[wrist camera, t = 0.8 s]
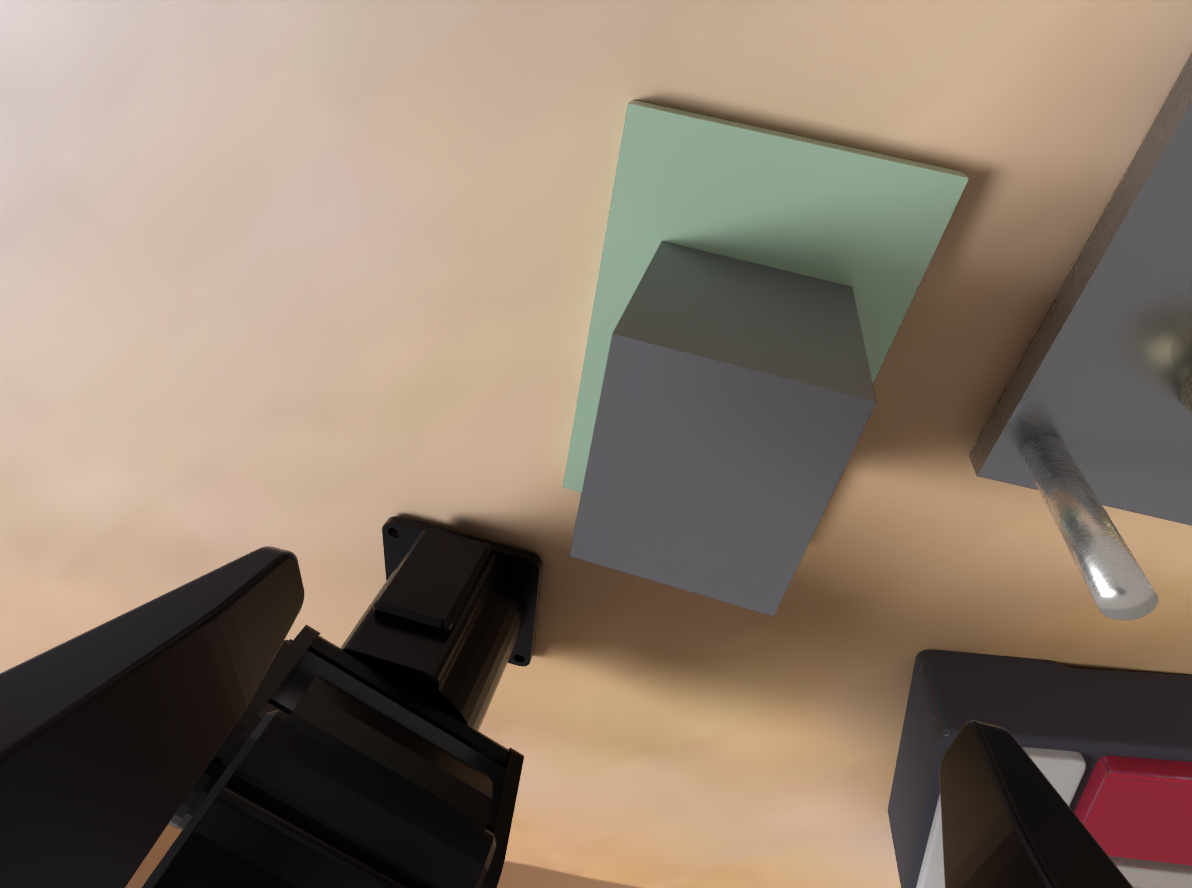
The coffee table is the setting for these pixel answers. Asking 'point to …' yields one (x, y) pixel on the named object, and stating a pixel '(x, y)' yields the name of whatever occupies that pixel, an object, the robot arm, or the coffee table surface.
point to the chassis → (1113, 374)
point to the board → (762, 223)
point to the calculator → (1056, 756)
